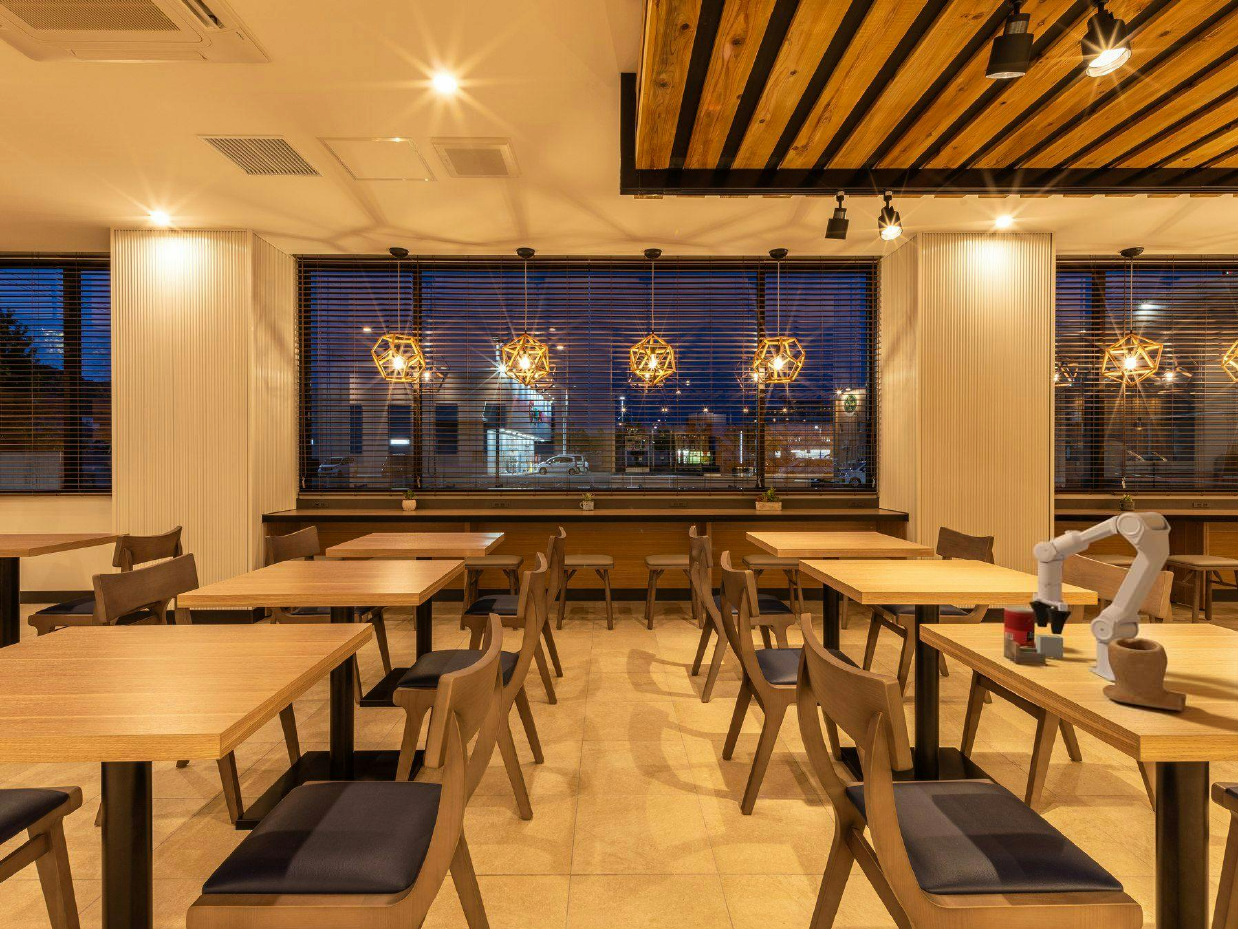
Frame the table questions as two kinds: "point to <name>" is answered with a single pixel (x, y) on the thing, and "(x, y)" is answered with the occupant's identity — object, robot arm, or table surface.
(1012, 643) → the grey stepped holder
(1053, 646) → the grey square block
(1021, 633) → the canned food
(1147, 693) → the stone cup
